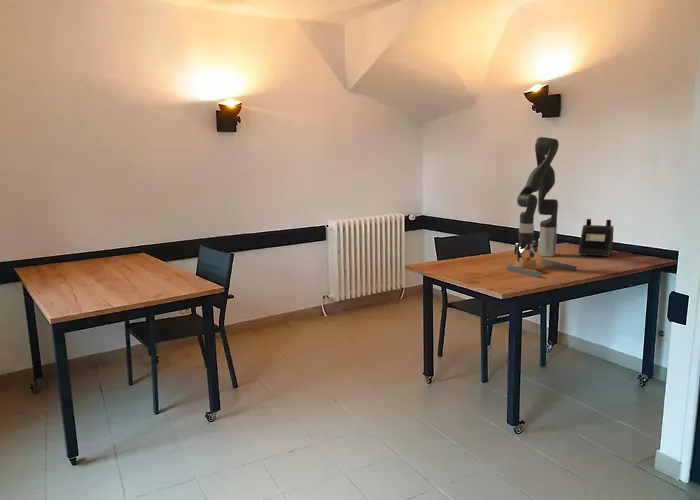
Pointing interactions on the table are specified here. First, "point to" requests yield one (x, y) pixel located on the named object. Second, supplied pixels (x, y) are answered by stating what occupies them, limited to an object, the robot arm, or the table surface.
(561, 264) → the guide rails
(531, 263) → the bracket
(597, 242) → the voltmeter
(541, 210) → the robot arm
